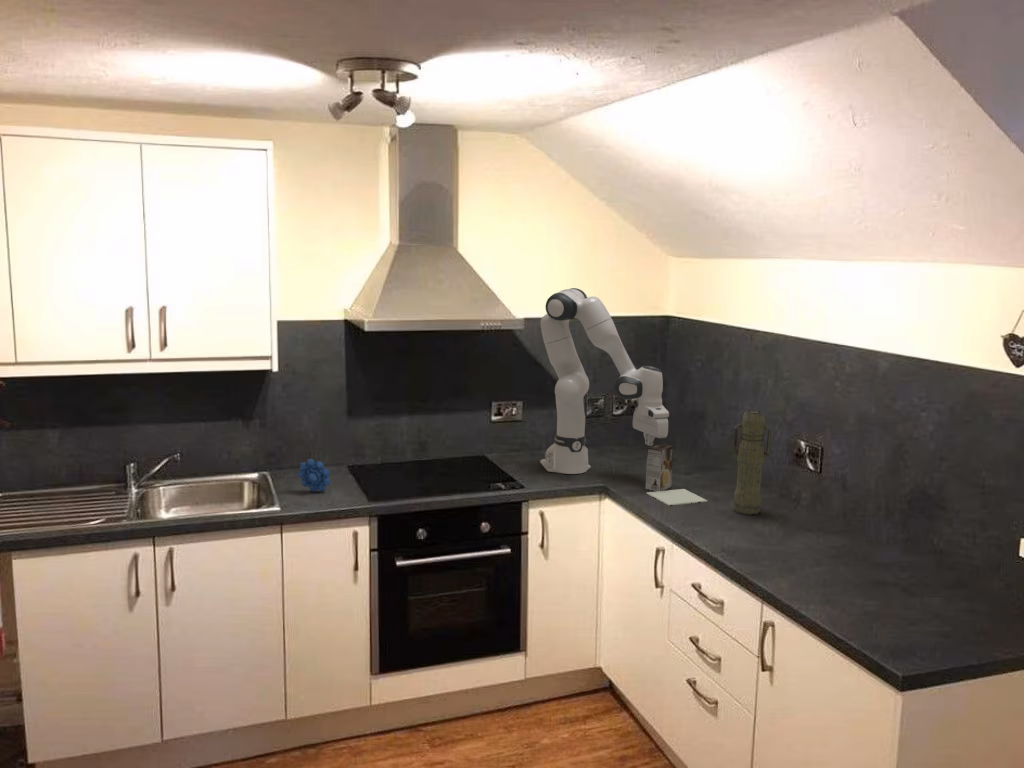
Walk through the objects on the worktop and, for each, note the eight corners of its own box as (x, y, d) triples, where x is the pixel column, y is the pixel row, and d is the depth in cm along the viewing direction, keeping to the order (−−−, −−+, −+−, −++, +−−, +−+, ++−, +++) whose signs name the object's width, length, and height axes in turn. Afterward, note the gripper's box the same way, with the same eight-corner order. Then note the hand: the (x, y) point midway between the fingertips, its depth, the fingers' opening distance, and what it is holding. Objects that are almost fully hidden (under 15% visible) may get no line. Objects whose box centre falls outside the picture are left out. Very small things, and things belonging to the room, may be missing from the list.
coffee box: (656, 484, 328) (658, 442, 325) (671, 487, 324) (674, 445, 322) (644, 489, 321) (647, 447, 318) (660, 492, 317) (662, 450, 314)
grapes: (294, 494, 302) (294, 461, 300) (299, 489, 309) (299, 456, 307) (327, 495, 302) (327, 462, 300) (332, 490, 309) (332, 457, 307)
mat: (646, 493, 315) (646, 492, 315) (683, 490, 321) (684, 488, 321) (668, 505, 301) (668, 504, 301) (707, 501, 307) (707, 500, 307)
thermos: (727, 506, 303) (734, 408, 297) (762, 508, 302) (769, 409, 296) (730, 513, 294) (737, 413, 289) (765, 516, 293) (774, 415, 287)
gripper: (629, 404, 334) (628, 439, 337) (656, 414, 316) (655, 451, 318) (643, 403, 337) (642, 438, 339) (671, 413, 318) (670, 450, 320)
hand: (649, 444), depth 328 cm, fingers closed
